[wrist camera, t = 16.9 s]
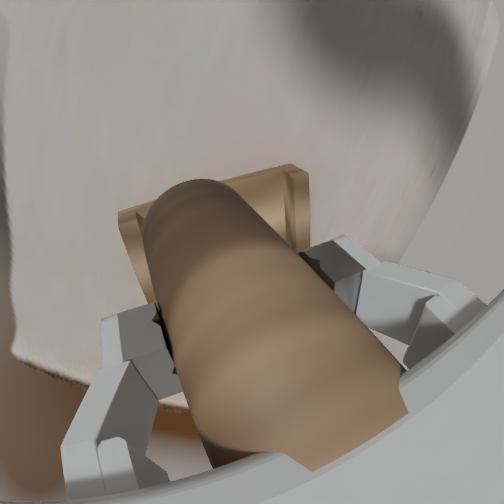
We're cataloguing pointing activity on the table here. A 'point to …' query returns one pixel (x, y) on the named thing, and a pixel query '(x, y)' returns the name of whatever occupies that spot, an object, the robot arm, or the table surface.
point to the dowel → (261, 335)
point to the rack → (256, 195)
